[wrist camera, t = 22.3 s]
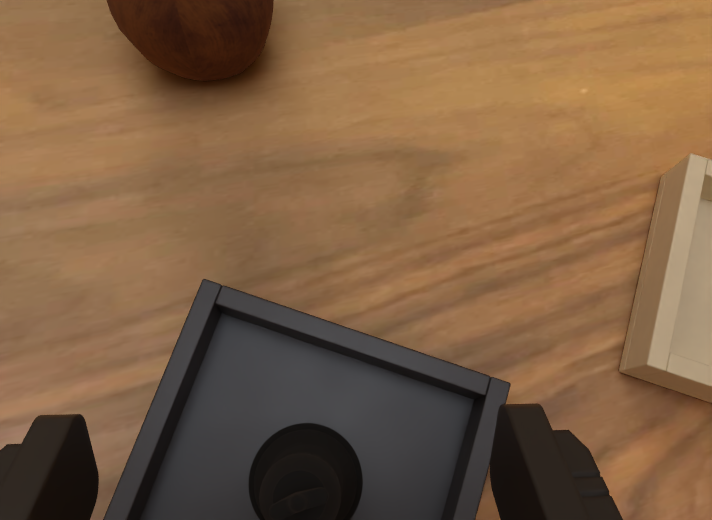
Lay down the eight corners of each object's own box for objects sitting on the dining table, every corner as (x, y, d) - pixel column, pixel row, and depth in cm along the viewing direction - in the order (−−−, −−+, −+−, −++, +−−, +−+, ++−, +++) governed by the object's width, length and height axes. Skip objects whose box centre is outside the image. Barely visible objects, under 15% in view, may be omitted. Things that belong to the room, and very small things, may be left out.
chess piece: (377, 518, 25) (412, 564, 16) (268, 559, 25) (235, 632, 15) (341, 408, 26) (353, 387, 17) (235, 444, 26) (185, 445, 16)
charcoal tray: (494, 388, 28) (511, 382, 25) (413, 687, 24) (424, 715, 22) (213, 292, 28) (202, 277, 26) (98, 573, 25) (74, 588, 22)
